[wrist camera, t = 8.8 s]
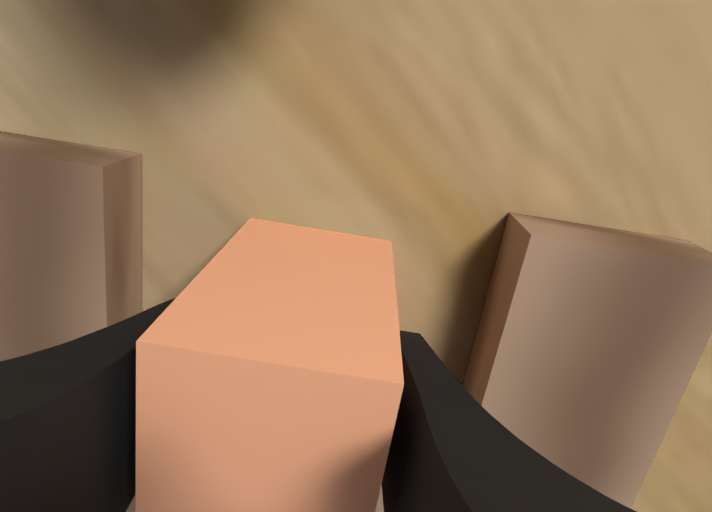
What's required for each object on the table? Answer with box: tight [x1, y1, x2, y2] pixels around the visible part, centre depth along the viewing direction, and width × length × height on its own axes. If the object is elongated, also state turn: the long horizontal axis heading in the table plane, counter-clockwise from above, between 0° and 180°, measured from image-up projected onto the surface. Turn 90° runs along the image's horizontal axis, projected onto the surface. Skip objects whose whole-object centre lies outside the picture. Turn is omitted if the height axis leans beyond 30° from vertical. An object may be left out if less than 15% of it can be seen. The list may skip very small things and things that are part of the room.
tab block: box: [135, 218, 404, 512], centre depth 11 cm, size 4×4×7 cm
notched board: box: [0, 131, 712, 512], centre depth 14 cm, size 20×12×2 cm, turn 81°
